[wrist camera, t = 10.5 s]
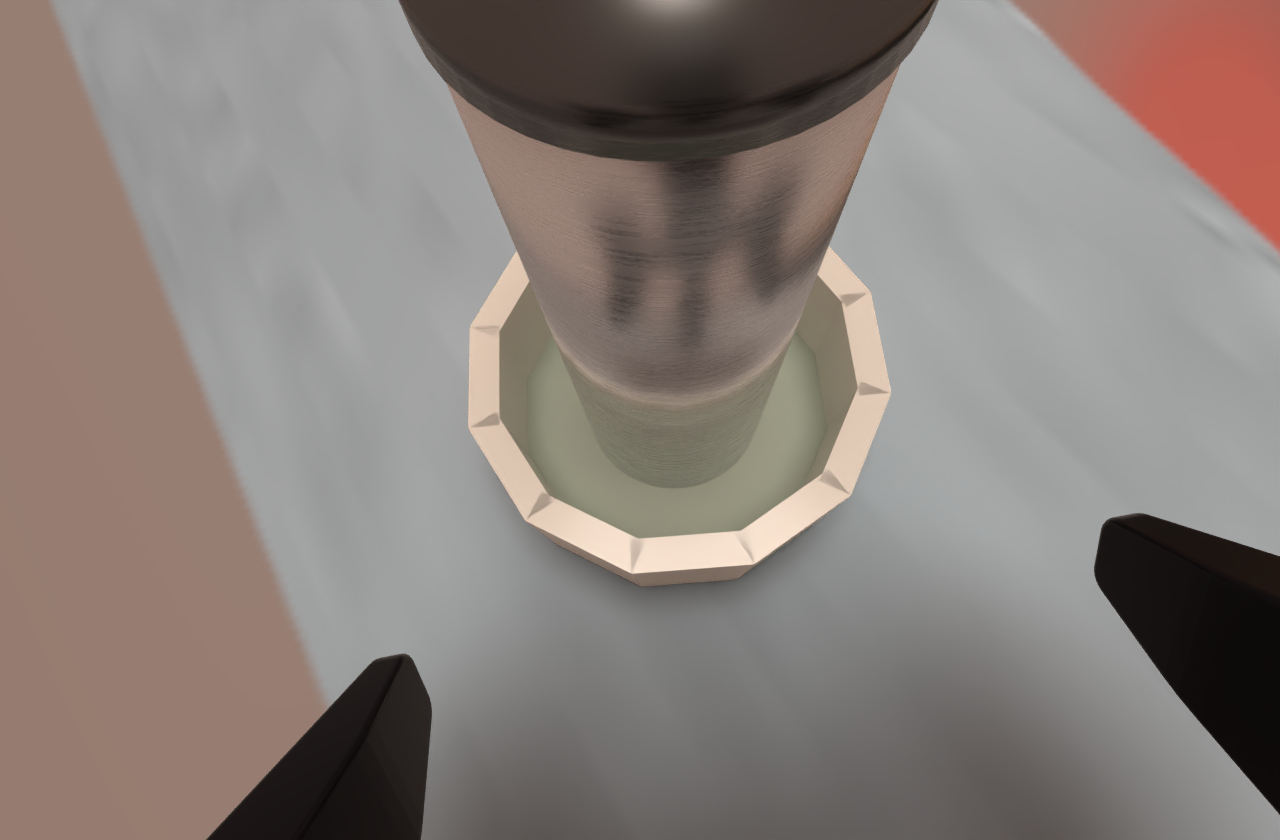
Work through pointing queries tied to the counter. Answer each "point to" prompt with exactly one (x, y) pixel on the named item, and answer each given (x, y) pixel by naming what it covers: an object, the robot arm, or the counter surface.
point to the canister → (670, 189)
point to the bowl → (693, 516)
